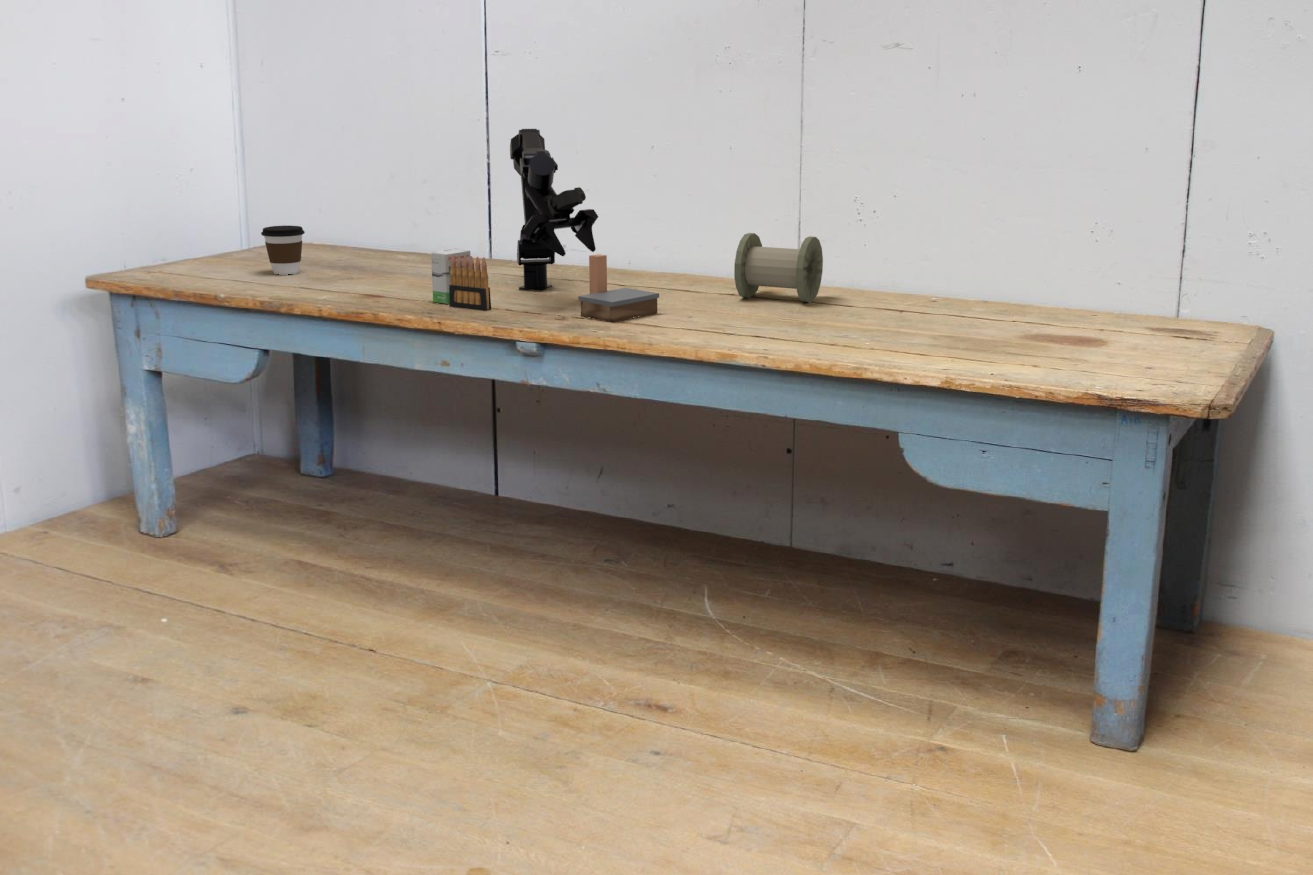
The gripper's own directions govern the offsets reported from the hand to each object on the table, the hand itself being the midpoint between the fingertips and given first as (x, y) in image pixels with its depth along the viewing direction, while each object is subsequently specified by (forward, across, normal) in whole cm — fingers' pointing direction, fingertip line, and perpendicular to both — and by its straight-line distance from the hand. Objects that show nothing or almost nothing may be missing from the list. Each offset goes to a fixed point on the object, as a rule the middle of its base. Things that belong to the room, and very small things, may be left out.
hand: (579, 253), depth 291 cm
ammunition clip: (-4, -18, +22) cm, 28 cm away
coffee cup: (-56, -20, +74) cm, 95 cm away
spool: (+27, +40, -9) cm, 49 cm away
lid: (+14, 0, -2) cm, 14 cm away
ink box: (-11, -15, +29) cm, 34 cm away
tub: (+18, 0, 0) cm, 18 cm away
